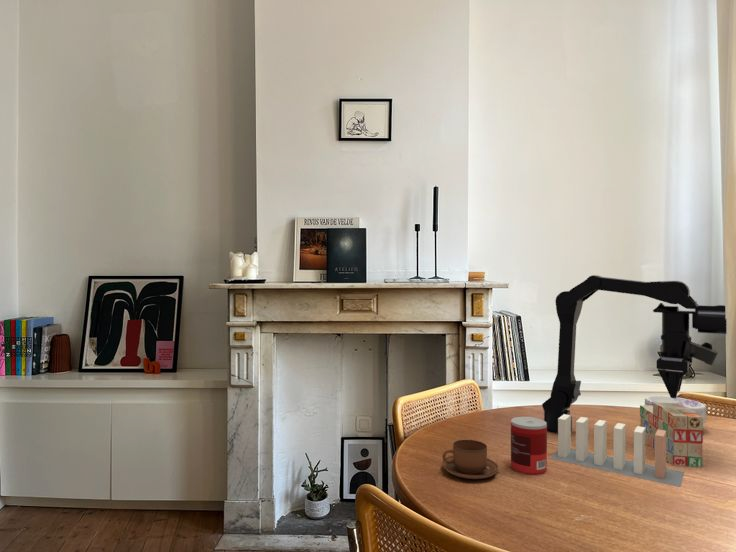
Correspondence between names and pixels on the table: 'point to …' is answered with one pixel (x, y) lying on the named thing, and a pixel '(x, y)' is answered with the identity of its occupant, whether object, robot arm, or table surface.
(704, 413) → the paper bowls
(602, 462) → the domino
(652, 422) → the stack of blocks
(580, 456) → the domino
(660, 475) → the domino
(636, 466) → the domino
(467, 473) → the cup and saucer
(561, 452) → the domino
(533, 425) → the canned food
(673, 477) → the mat
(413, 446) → the table surface
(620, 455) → the domino
